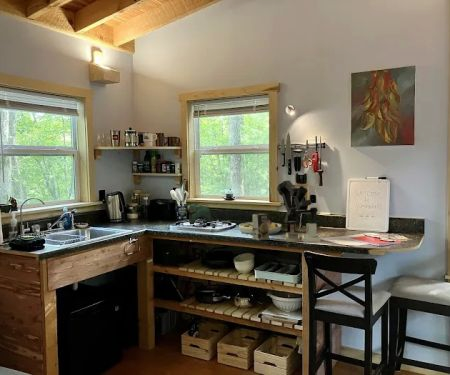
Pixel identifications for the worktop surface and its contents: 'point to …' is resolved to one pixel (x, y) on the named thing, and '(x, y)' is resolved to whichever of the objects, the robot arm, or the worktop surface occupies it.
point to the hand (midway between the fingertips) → (306, 222)
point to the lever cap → (310, 230)
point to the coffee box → (260, 226)
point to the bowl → (248, 227)
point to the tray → (311, 239)
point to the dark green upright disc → (199, 213)
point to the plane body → (292, 235)
